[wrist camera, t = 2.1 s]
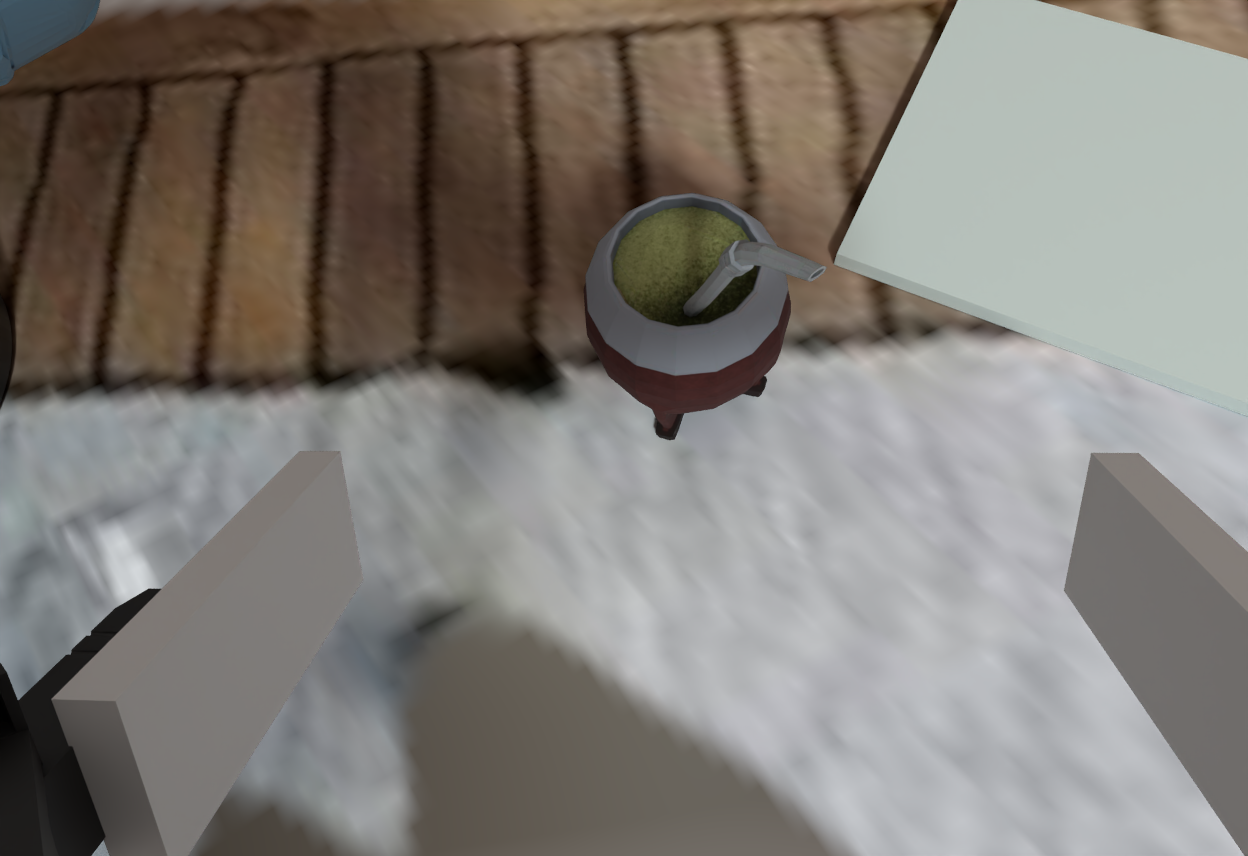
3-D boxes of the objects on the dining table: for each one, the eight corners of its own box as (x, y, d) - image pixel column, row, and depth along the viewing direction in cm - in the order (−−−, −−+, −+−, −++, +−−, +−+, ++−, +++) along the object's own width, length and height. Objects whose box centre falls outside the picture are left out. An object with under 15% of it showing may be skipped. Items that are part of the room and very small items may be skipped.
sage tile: (833, 264, 36) (836, 253, 35) (962, -5, 40) (967, -19, 40) (1420, 479, 31) (1438, 472, 30) (1488, 143, 35) (1505, 130, 35)
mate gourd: (631, 276, 36) (590, -30, 22) (816, 321, 35) (895, 23, 21) (572, 434, 34) (486, 201, 20) (769, 490, 32) (823, 280, 19)
